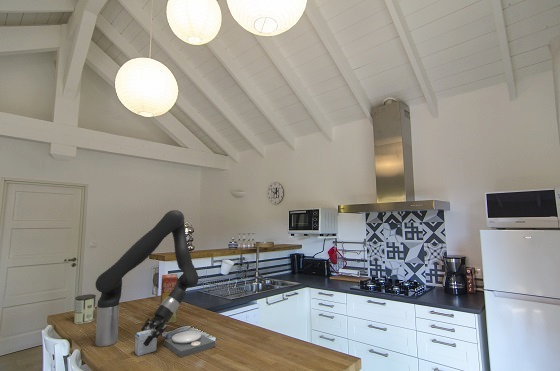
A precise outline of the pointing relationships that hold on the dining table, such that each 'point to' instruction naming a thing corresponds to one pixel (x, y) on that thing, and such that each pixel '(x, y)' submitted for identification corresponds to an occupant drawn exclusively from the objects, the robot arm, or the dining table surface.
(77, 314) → the coffee can
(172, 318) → the food packaging
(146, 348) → the medicine box
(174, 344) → the kitchen scale
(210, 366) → the dining table surface
